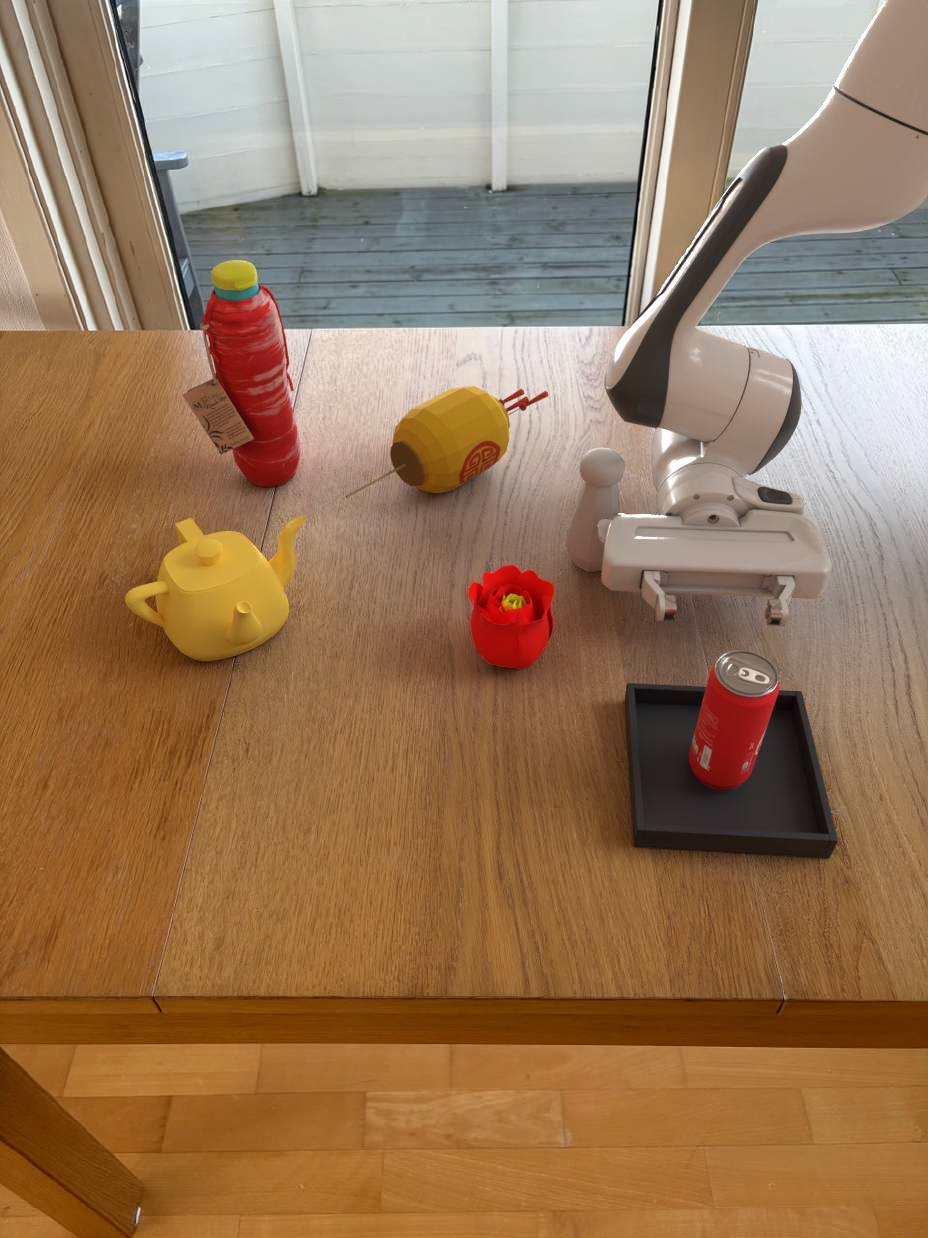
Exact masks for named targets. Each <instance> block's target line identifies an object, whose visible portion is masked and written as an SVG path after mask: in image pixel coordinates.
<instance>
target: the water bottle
mask: <svg viewBox="0 0 928 1238" xmlns="http://www.w3.org/2000/svg"><path fill="white" fill-rule="evenodd" d="M210 277H211V281H212V284H213V287H214V288H213V290H212V291H211V293H210V297H209V299H208V301H207V303H206V307H205V311H204V314H203V318H202V322H201V323H200V324H199V327H200V328H199V329H200V331H202V336H203V342H204V343H203V344H204V348H205V351H206V356H207V361H208V364H209V368H210V372H211V376H212V378H211V379H209V380H207V381H205V382H203V383H200V384H198V385H197V386H194V387H192V388H190V389H188V390H187V391H186V392H184V393H183V394H182V395H181V396H182V397H183V399H184V400H185V401H186V403H187V405H188V406H189V409H190V410H191V411H192V413H193V414H194V416H195V417H196V419H197V421H198V422H199V423H200V425H201V427H202V428H203V430H204V431H205V433H206V434H207V436H208V438H209V439H210V441H211V442H212V443H213V445H214V447H215V448H216V450H217V451H218V453H219V455H221V456H222V455H225V454H226V453H228V452H230V451H232V455H233V459H234V462H235V464H236V465H237V468H238V469H239V471H240V472H241V474H242V475H243V476H244V478H245V479H246V480H247V481H248V482H249V483H251V484H252V485H256V486H258V487H262V488H263V487H265V488H266V487H267V488H274V487H278V486H281V485H285V484H286V483H288V482H289V481H290V480H292V479H293V478H294V477H295V475H296V473H297V469H298V467H299V463H300V458H301V454H302V448H301V442H300V433H299V429H298V426H297V421H296V417H295V414H294V413H295V412H294V408H293V404H292V401H291V396H290V391H291V392H294V391H295V389H294V385H293V380H292V378H291V376H290V373H288V369H289V366H290V355H289V349H288V343H287V336H286V332H285V328H284V324H283V320H282V316H281V312H280V311H281V310H280V307H279V305H278V302H277V300H276V299H275V296H274V294H273V293H272V292H271V290H270V289H269V288H268V287H266V286H264V285H261V283H259V281H258V271H257V268H256V267H255V265H254V264H253V263H252V262H249V261H246V260H243V259H242V260H241V259H239V260H237V259H236V260H233V259H232V260H228V261H222V262H220V263H218V264H216V265H215V266H214V267H213V268H212V270H211V272H210ZM208 342H209V343H208ZM289 389H290V390H289Z"/></svg>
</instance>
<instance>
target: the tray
mask: <svg viewBox="0 0 928 1238" xmlns="http://www.w3.org/2000/svg"><path fill="white" fill-rule="evenodd" d="M705 690H706V686H702V685H701V686H697V685H682V684H681V685H680V684H679V685H676V684H658V683H636V682H635V683H634V682H627V683H626V688H625V694H624V699H623V704H624V706H623V707H624V722H625V736H626V750H627V752H626V754H627V767H628V780H629V781H628V782H629V783H628V784H629V797H630V815H631V830H632V845H633V846H632V847H633V848H643V849H659V850H674V851H675V850H677V851H695V852H712V853H713V852H714V853H728V854H729V853H730V854H745V855H762V856H763V855H764V856H780V857H781V856H783V857H799V858H800V857H801V858H817V859H818V858H819V859H830V858H831V857H832V854H833V852H834V850H835V848H836V846H837V844H838V842H839V839H838V835H837V831H836V827H835V823H834V819H833V813H832V810H831V806H830V801H829V798H828V793H827V789H826V785H825V781H824V778H823V773H822V769H821V765H820V761H819V756H818V752H817V749H816V744H815V740H814V735H813V732H812V727H811V723H810V719H809V714H808V710H807V707H806V702H805V699H804V694H803V691H802V690H787V689H786V690H784V689H779V693H778V696H777V699H776V702H775V705H774V707H773V710H772V713H771V716H770V719H769V722H768V725H767V728H766V731H765V734H764V737H763V740H762V743H761V746H760V749H759V752H758V755H757V758H756V761H755V764H754V767H753V770H752V773H751V775H750V776H749V778H748V779H747V780H746V781H745V782H743V783H741V784H740V785H739V786H738V787H736V788H734V789H732V790H727V791H719V790H714V789H711V788H709V787H707V786H705V785H703V784H702V783H701V782H700V781H698V779H697V778H696V777H695V775H694V773H693V771H692V767H691V765H690V761H689V753H690V749H691V745H692V741H693V737H694V733H695V729H696V725H697V721H698V717H699V713H700V709H701V705H702V701H703V697H704V694H705Z"/></svg>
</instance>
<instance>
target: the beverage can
mask: <svg viewBox="0 0 928 1238" xmlns="http://www.w3.org/2000/svg"><path fill="white" fill-rule="evenodd" d="M705 687H706V690H705V694H704V697H703V701H702V705H701V709H700V713H699V717H698V721H697V725H696V729H695V733H694V737H693V741H692V745H691V749H690V753H689V761H690V765H691V767H692V771H693V773H694V775H695V777H696V778H697V779H698V781H700V782H701V783H702V784H703V785H705V786H707V787H709V788H711V789H714V790H719V791H727V790H732V789H734V788H736V787H738V786H739V785H740V784H741V783H743V782H745V781H746V780H747V779H748V778H749V776H750V775H751V773H752V770H753V767H754V764H755V761H756V758H757V755H758V752H759V749H760V746H761V743H762V740H763V737H764V734H765V731H766V728H767V725H768V722H769V719H770V716H771V713H772V710H773V707H774V705H775V702H776V699H777V696H778V693H779V690H780V688H781V687H780V676H779V672H778V669H777V667H776V666H775V664H773V662H772V661H771V660H770V659H768V658H767V657H766V656H763V655H762V654H761V653H757V652H754V651H750V650H742V649H740V650H737V649H736V650H731V651H728V652H726V653H724V654H722V655H721V656H720V657H719V658H718V659H717V660H716V661H715V663H714V664H713V665H712V667H711V668H710V671H709V675H708V678H707V681H706V686H705Z"/></svg>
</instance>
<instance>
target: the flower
mask: <svg viewBox="0 0 928 1238" xmlns="http://www.w3.org/2000/svg"><path fill="white" fill-rule="evenodd" d="M555 590H556V588H555V585H554V584H553V583H552V582H551V581H548V580H545V579H542V578H540V577H539V576H538V575H537V573H536V572H535V570H533V569H526V570H523V571H521V569H520V568H519V567H518V566H517V565H514V564H507V565H503V566H501V567H498V568H497V569H496V570H495V571H492V572H488V571H484V572H483V573H482V584H481V582H480V583H479V582H477V581H473V582H471V584H470V585H469V587H468V590H467V595H468V599H469V600H470V602H471V604H472V606H473V607H472V611H471V615H470V634H471V639H472V642H473V644H474V648H475V650H476V651H477V653H478V654H479V655H480V656H481V657H482V659H483V660H484V661H485V662H486V663H487V664H489V665H491V666H492V665H493V666H497V667H501V668H510V669H517V670H520V669H521V670H522V669H528V668H529V667H531V666H533V664H534V663H535V662H536V661H537V660H538V659H539V658H540V656H541V655H542V653H543V652H544V650H545V649H546V647H547V645H548V642H549V641H550V639H551V638H552V634H553V631H554V627H555V626H554V625H555V621H554V614H553V611H552V603H553V602H552V601H553V600H554V596H555V592H556V591H555Z"/></svg>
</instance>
